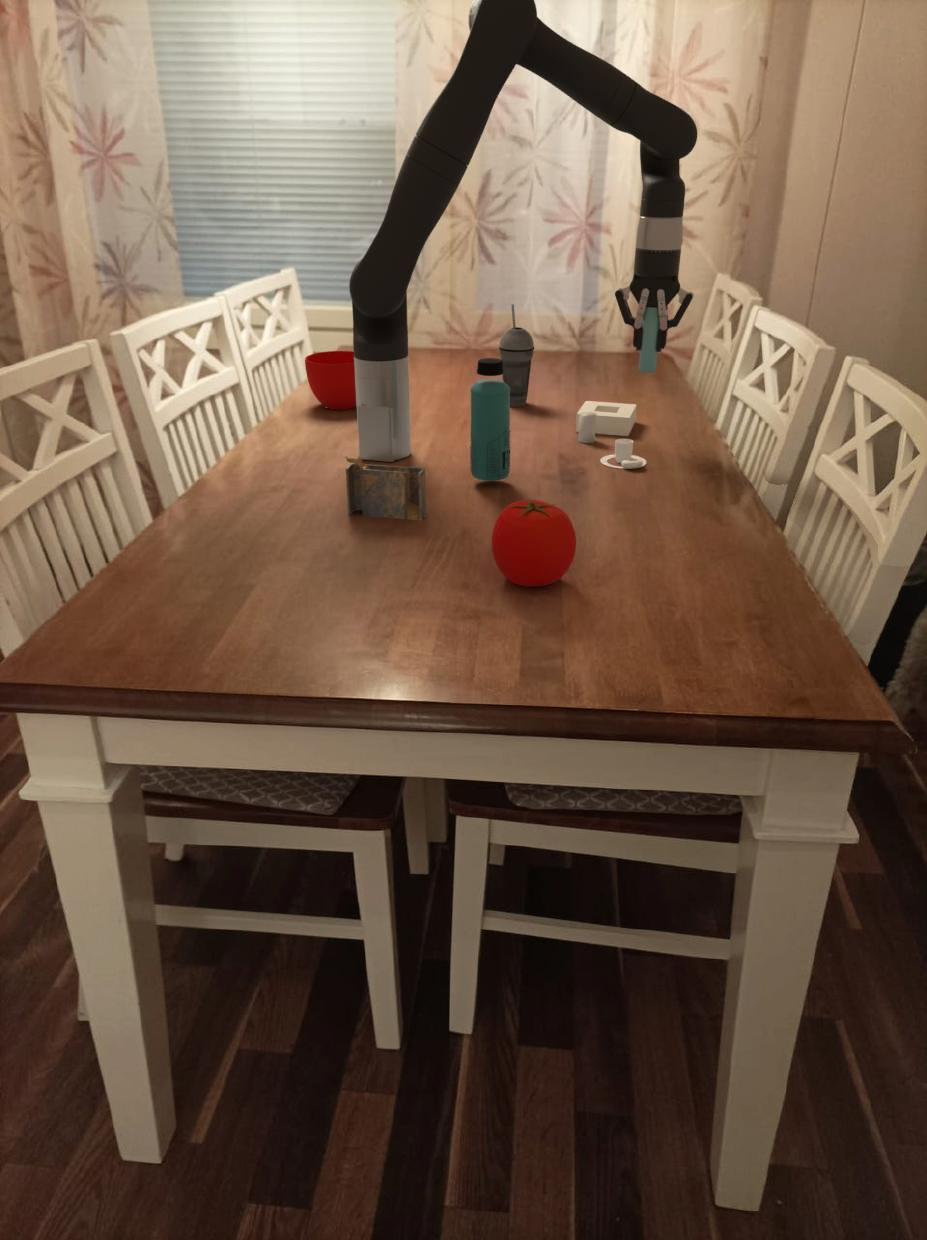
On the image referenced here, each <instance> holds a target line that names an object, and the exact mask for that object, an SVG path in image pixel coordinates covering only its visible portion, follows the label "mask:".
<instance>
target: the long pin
mask: <svg viewBox="0 0 927 1240" xmlns="http://www.w3.org/2000/svg"><path fill="white" fill-rule="evenodd" d="M659 330H660V318H659V309H658V308H651V307H646V309H645V313H644V317H643V324H642V338H641V349H640V351H639V360H638V372H639V373H643V374H644V373H645V374H653V373H656V371H657V359H658V352H657V341H658V331H659Z"/></svg>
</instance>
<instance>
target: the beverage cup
mask: <svg viewBox="0 0 927 1240" xmlns="http://www.w3.org/2000/svg"><path fill="white" fill-rule="evenodd" d="M511 317H512V327H510V328H509V329H507V330H506V331H505V332H504V333H503V334H502V336H501V338H500V342H499V345H498V349H499V356H500V359H501V360H502V361H503V370H504V373H503V374H502V375H501V376H502V381H504V382H505V383H506V384H507V385H508V386H509V387H510V407H515V408H519V407H524V406H527V400H528V399H527V398H528V394H529V393H528V392H529V383H530V376H531V375H530V374H531V365H532V359H533V357H534V356H533V355H534V350H535V346H534V339H533V337H532V335H531V334H530V332H528V331H527V329H525V328H523V327H520V326H519V327H516V313H515V305H514V304H511Z"/></svg>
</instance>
